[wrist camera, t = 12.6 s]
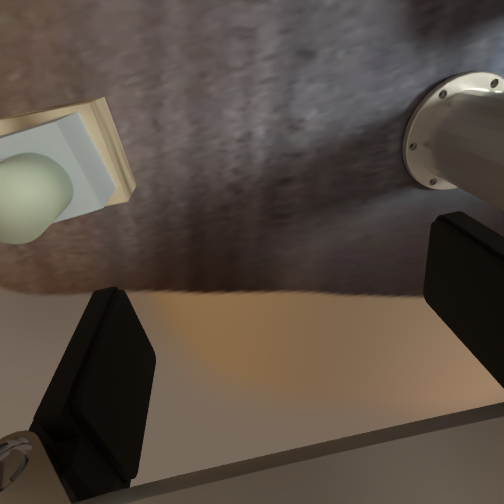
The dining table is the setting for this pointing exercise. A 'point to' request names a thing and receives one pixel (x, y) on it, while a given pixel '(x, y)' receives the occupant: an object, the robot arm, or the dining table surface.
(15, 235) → the sage cylinder
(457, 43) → the dining table surface
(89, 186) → the tower top
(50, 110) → the tower base
